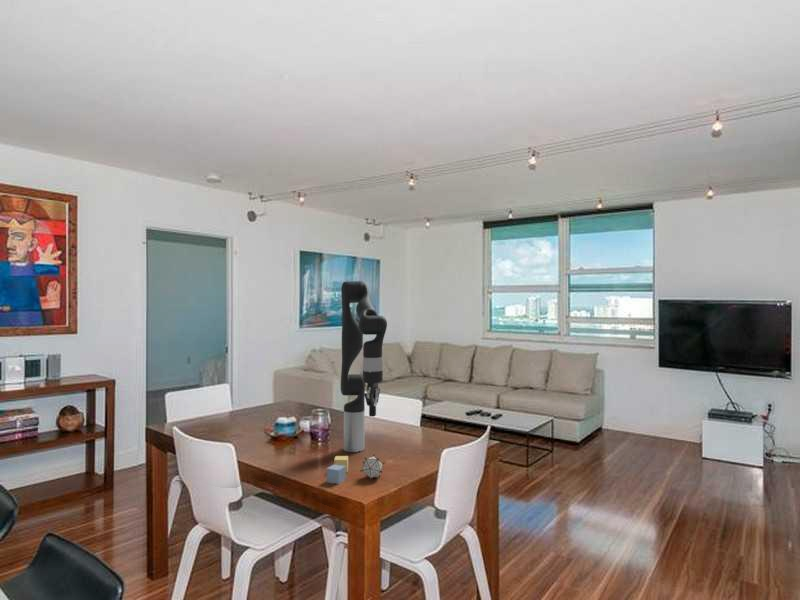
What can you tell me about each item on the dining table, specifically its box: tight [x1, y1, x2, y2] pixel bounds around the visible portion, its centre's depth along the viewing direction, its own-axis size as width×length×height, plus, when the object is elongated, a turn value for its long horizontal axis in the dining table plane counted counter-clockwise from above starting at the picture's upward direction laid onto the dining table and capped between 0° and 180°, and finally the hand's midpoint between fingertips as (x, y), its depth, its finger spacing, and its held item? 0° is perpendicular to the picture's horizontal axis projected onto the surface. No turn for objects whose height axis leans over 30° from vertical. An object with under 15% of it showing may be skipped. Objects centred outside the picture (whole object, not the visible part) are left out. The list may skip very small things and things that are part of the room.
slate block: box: [326, 464, 347, 485], centre depth 180 cm, size 5×5×5 cm
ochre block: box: [333, 455, 349, 473], centre depth 191 cm, size 5×5×5 cm
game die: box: [359, 454, 386, 481], centre depth 183 cm, size 9×8×10 cm
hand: (372, 415), depth 183 cm, fingers closed
